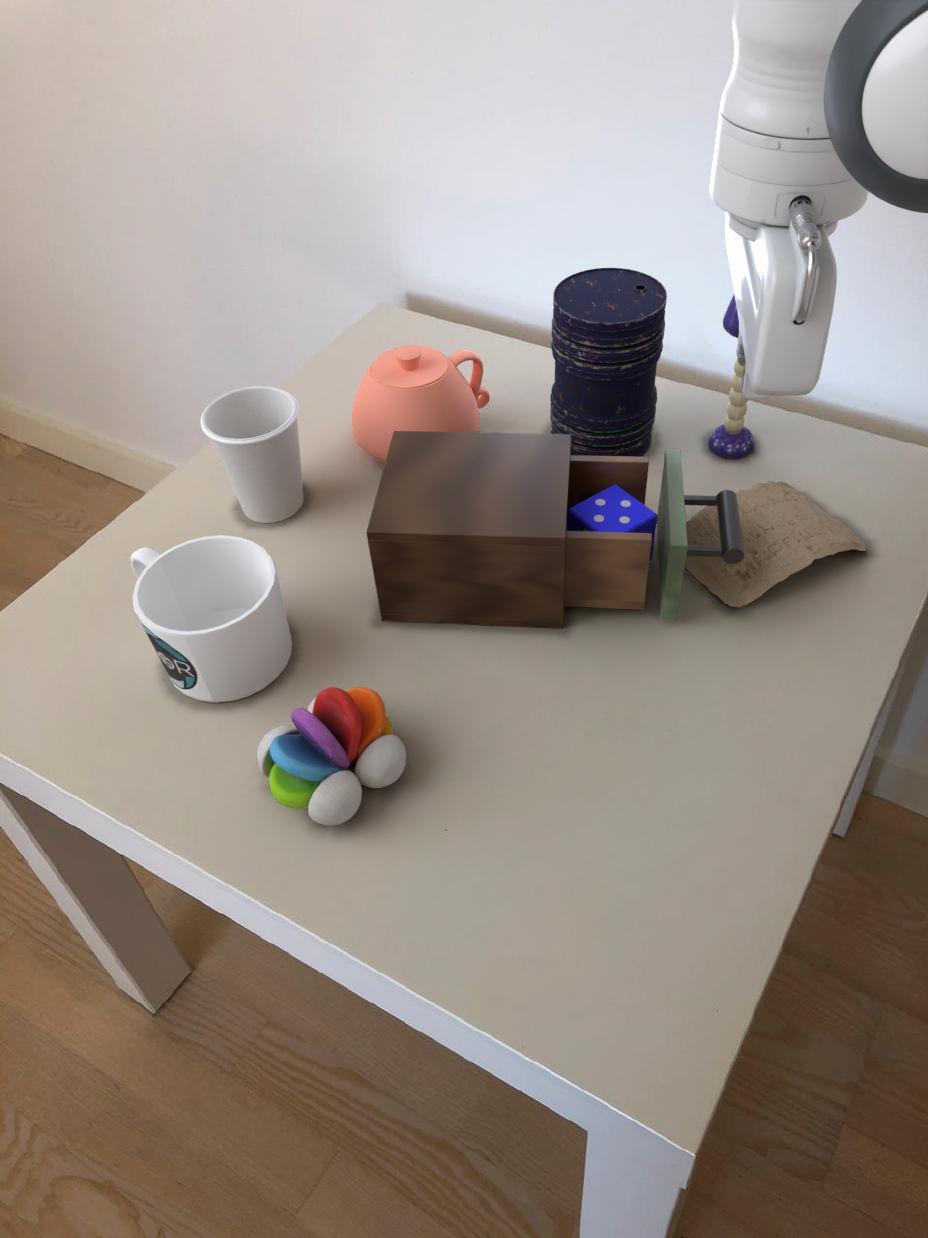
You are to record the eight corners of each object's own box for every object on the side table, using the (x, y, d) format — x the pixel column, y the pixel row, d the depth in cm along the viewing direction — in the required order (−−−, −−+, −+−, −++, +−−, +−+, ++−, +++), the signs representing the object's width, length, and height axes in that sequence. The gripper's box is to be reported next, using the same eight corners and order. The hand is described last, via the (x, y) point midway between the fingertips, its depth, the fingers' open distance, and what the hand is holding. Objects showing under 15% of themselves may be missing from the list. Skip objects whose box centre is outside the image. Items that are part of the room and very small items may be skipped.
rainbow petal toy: (427, 765, 67) (418, 701, 61) (319, 854, 62) (299, 794, 57) (351, 700, 71) (336, 635, 66) (245, 779, 67) (220, 717, 61)
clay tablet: (789, 486, 85) (795, 462, 83) (874, 551, 79) (883, 526, 77) (659, 545, 81) (662, 521, 79) (738, 618, 74) (744, 594, 72)
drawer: (725, 525, 81) (739, 450, 75) (736, 622, 73) (753, 547, 67) (513, 519, 83) (512, 446, 77) (503, 613, 75) (500, 539, 69)
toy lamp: (755, 463, 88) (790, 296, 75) (703, 461, 88) (730, 294, 76) (752, 433, 91) (785, 267, 79) (703, 430, 91) (728, 266, 79)
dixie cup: (210, 506, 88) (180, 415, 81) (280, 463, 92) (258, 373, 84) (265, 545, 84) (239, 453, 76) (336, 499, 87) (318, 407, 80)
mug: (324, 638, 75) (305, 565, 70) (232, 729, 70) (204, 657, 64) (204, 578, 81) (178, 505, 75) (110, 657, 75) (74, 585, 70)
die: (606, 588, 75) (610, 541, 71) (565, 555, 78) (567, 508, 74) (653, 561, 77) (659, 514, 73) (611, 529, 79) (615, 482, 76)
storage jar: (573, 480, 87) (578, 333, 77) (534, 422, 94) (534, 280, 83) (670, 454, 89) (689, 308, 78) (626, 400, 96) (638, 258, 85)
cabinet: (568, 523, 83) (571, 433, 76) (562, 628, 75) (565, 538, 68) (405, 519, 85) (393, 430, 78) (381, 621, 76) (365, 531, 69)
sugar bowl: (338, 429, 95) (321, 337, 88) (464, 390, 99) (458, 299, 91) (383, 497, 87) (369, 403, 80) (518, 452, 91) (516, 358, 83)
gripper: (884, 248, 46) (823, 473, 56) (823, 100, 60) (782, 302, 70) (752, 248, 47) (714, 470, 57) (722, 102, 61) (696, 301, 71)
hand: (752, 376), depth 64 cm, fingers closed
